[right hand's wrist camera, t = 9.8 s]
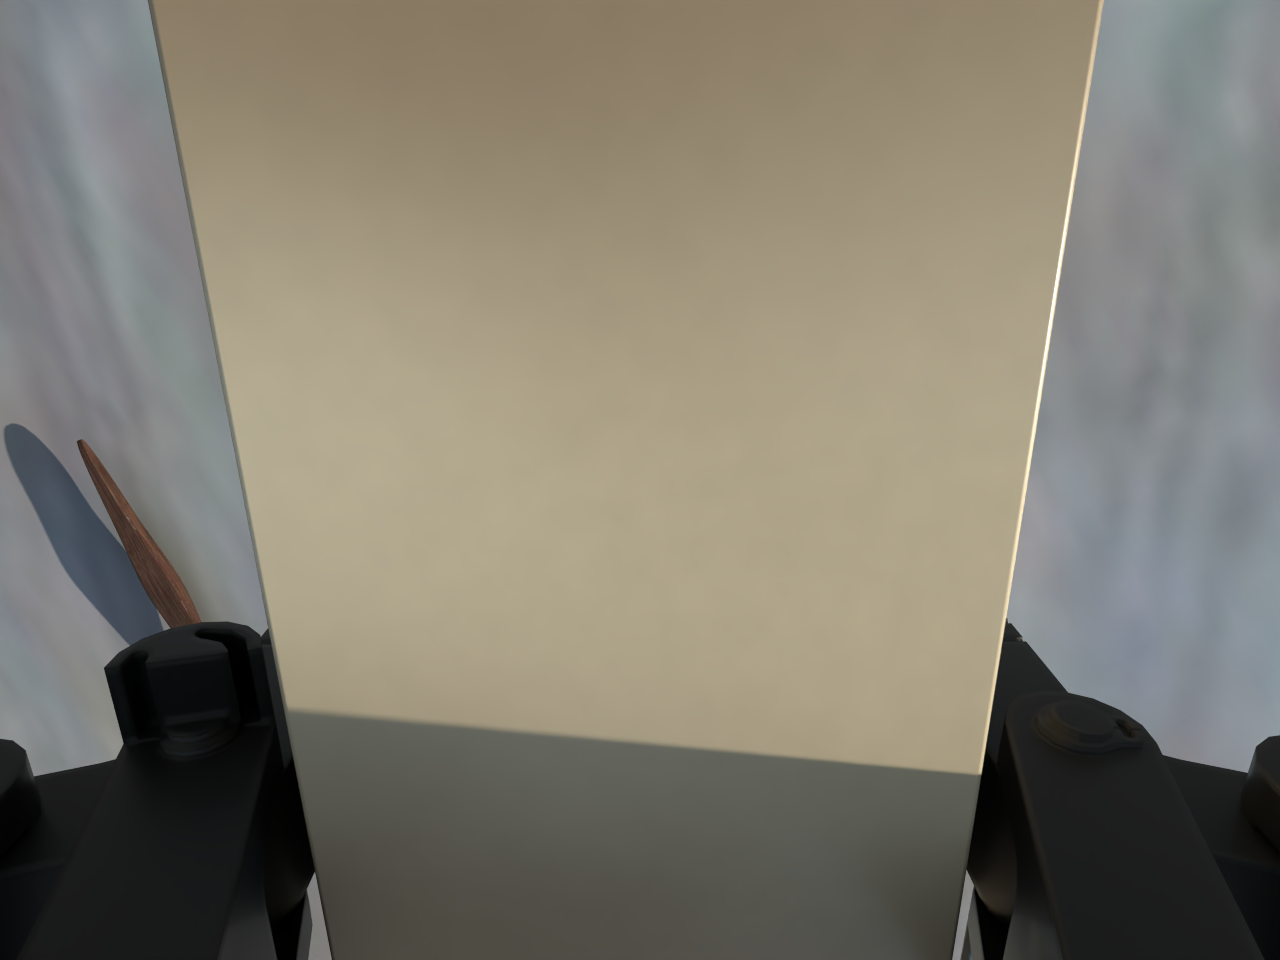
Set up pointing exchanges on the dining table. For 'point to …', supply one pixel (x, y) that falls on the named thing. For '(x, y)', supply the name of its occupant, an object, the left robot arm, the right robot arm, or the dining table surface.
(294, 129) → the birch rail
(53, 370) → the dining table surface
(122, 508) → the fork
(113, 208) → the dining table surface
